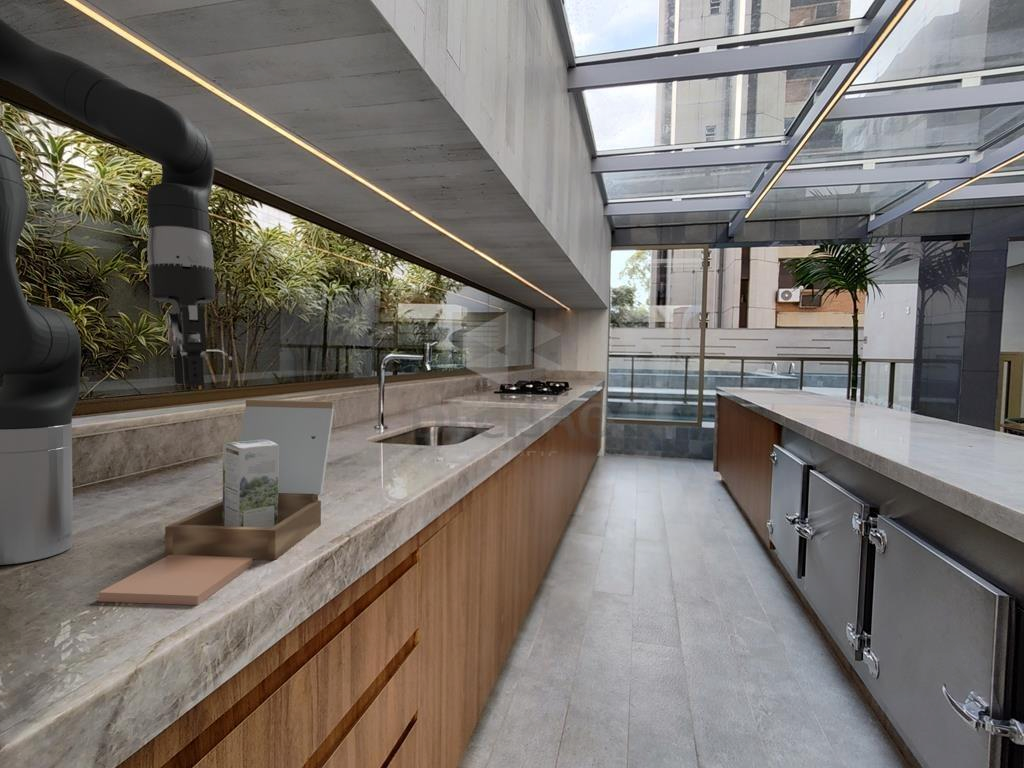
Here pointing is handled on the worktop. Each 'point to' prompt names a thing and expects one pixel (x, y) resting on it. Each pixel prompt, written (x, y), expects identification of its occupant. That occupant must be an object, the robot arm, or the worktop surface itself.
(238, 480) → the syrup box
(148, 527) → the worktop surface
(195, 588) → the tile
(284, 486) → the lid
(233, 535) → the wooden box
